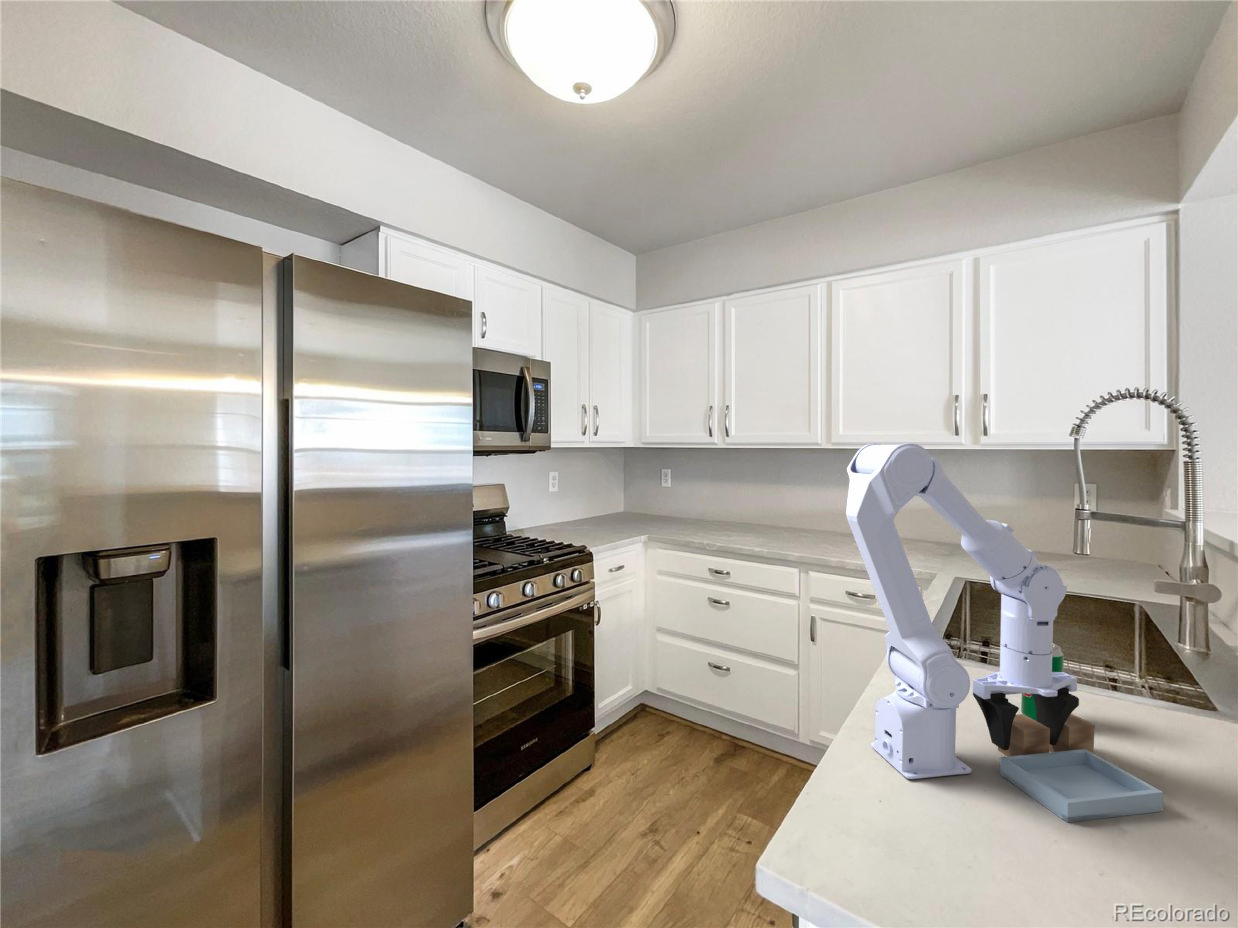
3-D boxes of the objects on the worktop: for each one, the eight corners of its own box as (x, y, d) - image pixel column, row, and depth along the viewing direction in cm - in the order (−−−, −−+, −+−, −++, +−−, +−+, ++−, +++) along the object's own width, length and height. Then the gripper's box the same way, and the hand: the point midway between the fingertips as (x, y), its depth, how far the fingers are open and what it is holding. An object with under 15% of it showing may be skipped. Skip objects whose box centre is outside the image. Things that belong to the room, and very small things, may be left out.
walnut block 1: (1023, 767, 71) (1024, 730, 71) (997, 750, 75) (998, 715, 75) (1049, 764, 72) (1050, 728, 72) (1022, 748, 76) (1023, 713, 76)
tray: (1067, 822, 61) (1067, 802, 61) (1000, 774, 70) (1000, 757, 70) (1162, 810, 63) (1163, 791, 63) (1085, 765, 72) (1085, 748, 71)
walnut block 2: (1068, 763, 72) (1069, 727, 72) (1040, 746, 76) (1042, 712, 76) (1093, 760, 73) (1094, 725, 73) (1064, 744, 77) (1066, 710, 77)
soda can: (1021, 708, 87) (1023, 636, 87) (1061, 718, 84) (1063, 643, 84) (1020, 720, 83) (1022, 645, 83) (1062, 731, 80) (1064, 653, 80)
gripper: (1004, 662, 68) (1002, 765, 68) (1101, 655, 70) (1098, 755, 71) (961, 642, 75) (959, 736, 75) (1050, 636, 77) (1048, 727, 78)
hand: (1023, 743), depth 74 cm, fingers open, 7 cm apart
